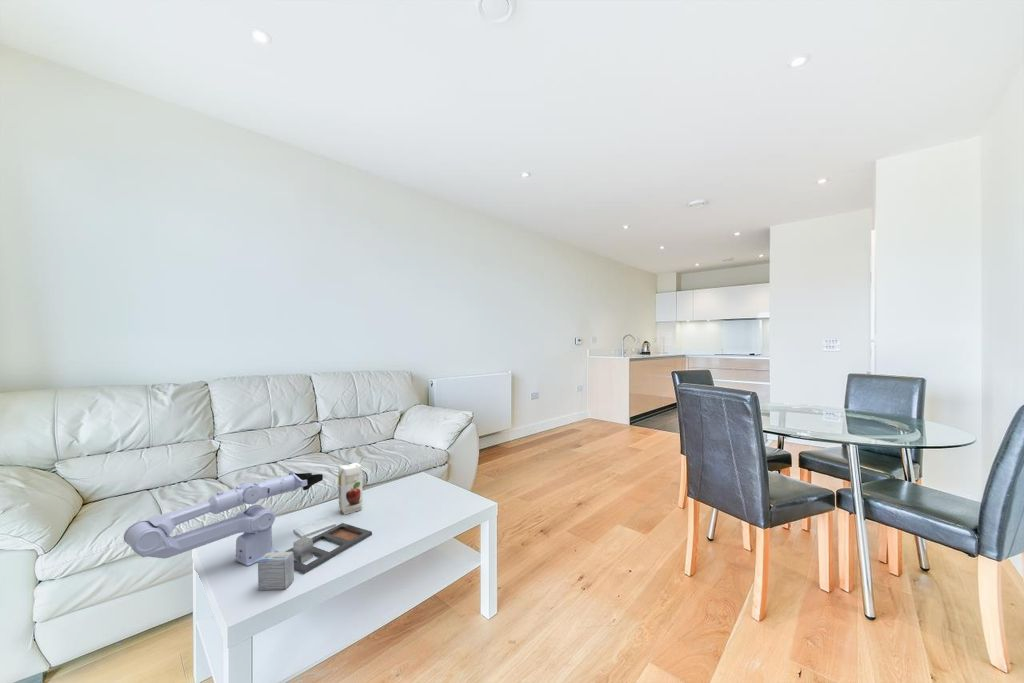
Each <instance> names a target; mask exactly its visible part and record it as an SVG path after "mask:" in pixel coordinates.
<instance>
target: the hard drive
mask: <svg viewBox="0 0 1024 683" xmlns="http://www.w3.org/2000/svg"><path fill="white" fill-rule="evenodd" d="M335 526H337V523H336V522H335V521H333V520H331V519H330V518H328V517H325V518H322V519H320V520H317V521H314V522H312V523H308V524H306V525H302V526H299V527H297V528H294V529H293V530H292V531H293V533H294V534H295V535H296V536H297V537H299V539H301V538H303V537H308V538H309V537H310V536H313V535H316V534H318V533H322V532H325V531H327V530H329V529H331V528H333V527H335Z"/></svg>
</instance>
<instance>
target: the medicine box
mask: <svg viewBox="0 0 1024 683" xmlns="http://www.w3.org/2000/svg"><path fill="white" fill-rule="evenodd" d="M257 574H258V575H257V578H258V579H257V581H258V582H257V586H258V591H270V590H271V591H272V590H286V589H288V588H289V586H290V585H292V583H293V582H294V581H295V570H294V554H293V552H285V551H278V552H272V553H267V554H265V555H264V556H263V557H262V558H261V559H260V560H259V561H258V562H257Z"/></svg>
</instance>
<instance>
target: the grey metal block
mask: <svg viewBox="0 0 1024 683" xmlns="http://www.w3.org/2000/svg"><path fill="white" fill-rule="evenodd" d="M292 545H293V547H292V548H293V549H294V554H293V558H294V560H295V561H298V562H300V563H303V564H305V563H306V562H308V561H309V560H311V559H313V558H314V555H313V546H314V544H313V539H311V537H309V536H308V537H303V538H299V539H298V540H296V541H293V543H292Z"/></svg>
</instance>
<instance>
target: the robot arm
mask: <svg viewBox="0 0 1024 683" xmlns="http://www.w3.org/2000/svg"><path fill="white" fill-rule="evenodd" d="M323 480H324V475H323V473H316V474H312V472H304V473H302V472H301V473H298V472H297V473H296V472H295V470H290V471H289V472H288V475H283V476H278V477H273V478H270V479H266V480H262V481H258V482H254V483H252V482H243V483H240V484H239V485H238V486H235V488H233V489H230V490H226V491H222V490H220V491H217V492H216V494H214V495H211V496H210V497H209V499H208V500H207V501H204V502H200V503H197V504H194V505H191V506H187V507H183V508H179V509H177V510H173V511H169V512H167V513H160V514H156V515H153V516H150V517H148V518H146V520H140V521H136V522H134V523H132V524H131V525H130V526H128V527H127V528H126V530H125V532H124V534H123V541H124V542H125V543H126V544H127V545H129V547H130V548H131V549H132V550H131V551H133V552H134V553H135V554H137V555H139V556H140V557H141V558H147V557H148V558H157V559H170V558H172V557H175V556H177V555H180V554H182V553H186V552H189V551H191V550H194V549H197V548H200V547H203V546H205V545H208V544H212V543H214V542H217V541H220V540H222V539H225V538H226V539H227V538H228V537H231V536H234V535H236V534H240V533H241V534H240V535H238V536H237V538H236V541H235V558H234V561H236V562H238V563H240V564H242V565H245V566H247V567H248V566H252V565H253V564H256V563H258V561H259V560H260V559H261V558H262V557H263V556H264V555H265V554H267V553H272V552H279V550H278V549H277V548H274V547H273V527H272V526H273V524H274V522H275V520H276V514H275V513H274V511H273V510H270V509H267V508H265V507H263V506H262V505H260V504H256V503H258V502H259V501H260V500H262V499H263V500H264V499H267V498H272V497H274V496H278V495H279V496H280V495H283V494H286V493H290V492H296V491H297V490H299V489H300V488H302V491H308V490H309V489H310V488H311V487H312V486H314V485H316V484H318V483H319V482H322V481H323ZM244 504H245V505H250V506H249V507H247V508H246V509H245V510H243V511H240V512H238V513H237V514H235V516H233V517H229V518H226V519H222V520H220V521H216V522H213V523H211V524H208V525H205V526H201V527H198V528H195V529H192V530H189V531H186V532H183V533H180V534H175V535H173V536H171V534H172V532H173V531H174V529H175V528H176V527H177V526H178V525H180V524H183V523H186V522H188V521H191V520H194V519H196V518H199V517H201V516H203V515H206V514H209V513H211V514H214V515H217V514H221V513H223V512H226V511H229V510H231V509H234V508H237V507H240V506H242V505H244Z"/></svg>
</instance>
